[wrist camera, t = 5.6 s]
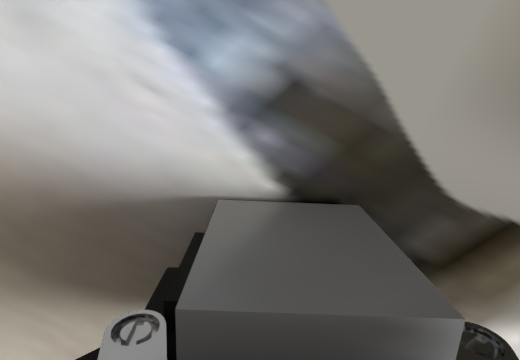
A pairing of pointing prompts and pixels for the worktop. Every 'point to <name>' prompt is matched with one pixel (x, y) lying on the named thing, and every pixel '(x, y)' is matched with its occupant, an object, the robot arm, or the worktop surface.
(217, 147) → the worktop surface
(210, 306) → the grey near-cubic block
